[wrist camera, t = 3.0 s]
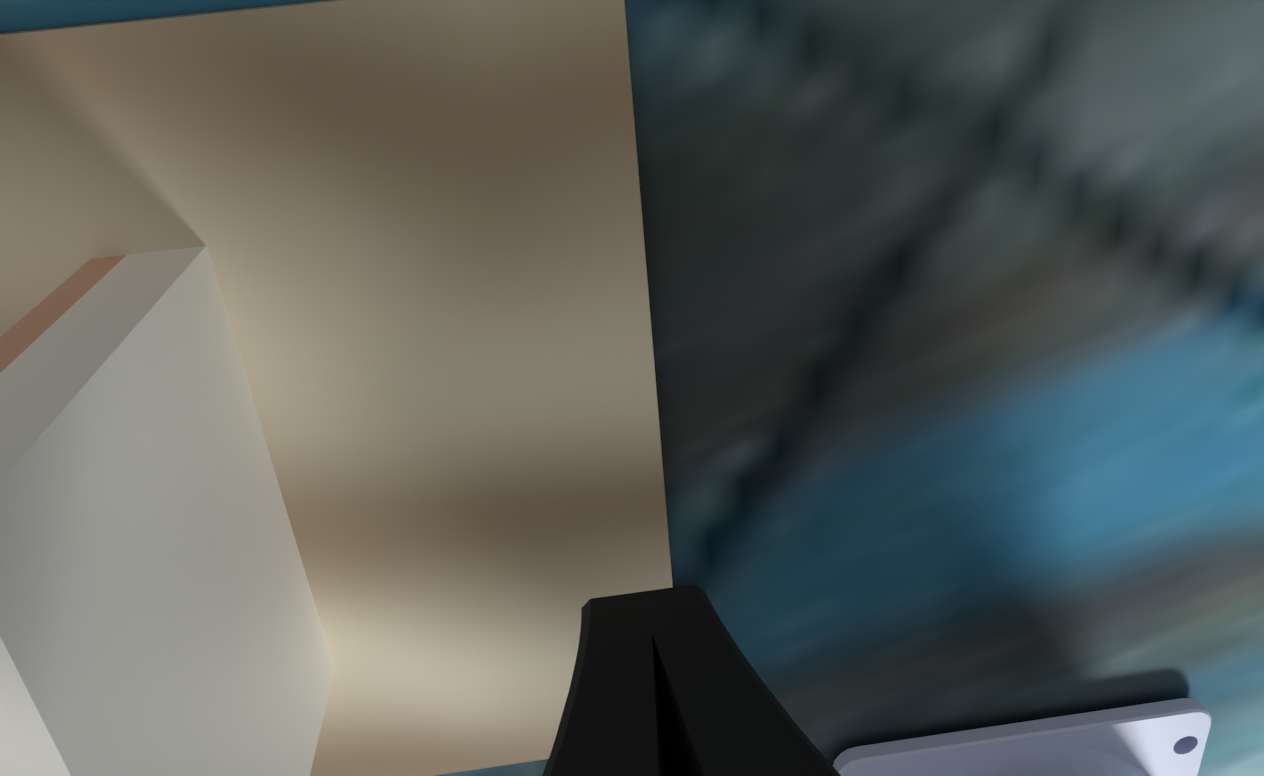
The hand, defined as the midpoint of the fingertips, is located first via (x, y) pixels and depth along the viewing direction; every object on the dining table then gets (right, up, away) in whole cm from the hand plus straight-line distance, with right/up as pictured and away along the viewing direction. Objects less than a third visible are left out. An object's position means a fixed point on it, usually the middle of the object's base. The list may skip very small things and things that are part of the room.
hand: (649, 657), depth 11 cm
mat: (-9, +1, +4) cm, 10 cm away
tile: (-7, +2, +4) cm, 8 cm away
